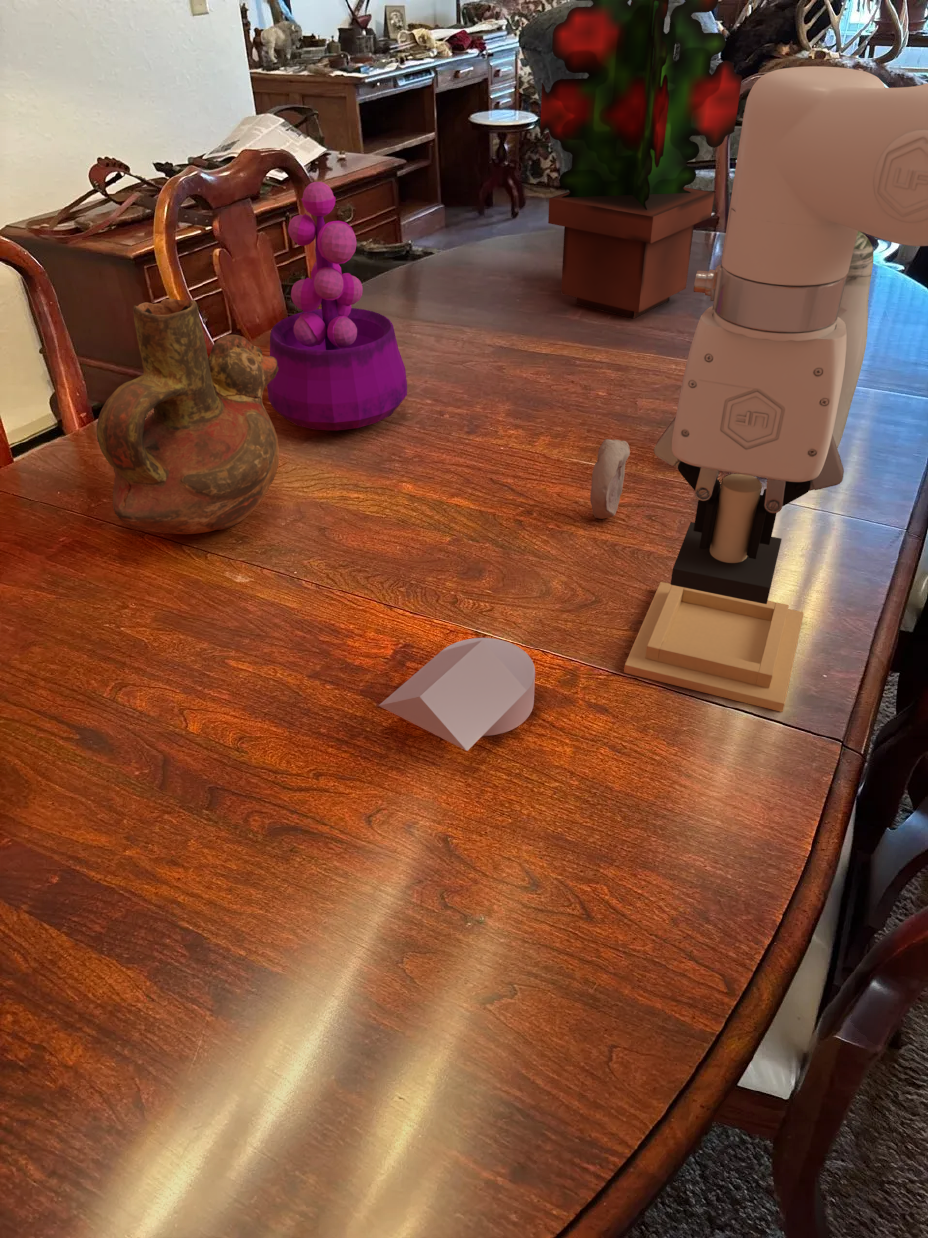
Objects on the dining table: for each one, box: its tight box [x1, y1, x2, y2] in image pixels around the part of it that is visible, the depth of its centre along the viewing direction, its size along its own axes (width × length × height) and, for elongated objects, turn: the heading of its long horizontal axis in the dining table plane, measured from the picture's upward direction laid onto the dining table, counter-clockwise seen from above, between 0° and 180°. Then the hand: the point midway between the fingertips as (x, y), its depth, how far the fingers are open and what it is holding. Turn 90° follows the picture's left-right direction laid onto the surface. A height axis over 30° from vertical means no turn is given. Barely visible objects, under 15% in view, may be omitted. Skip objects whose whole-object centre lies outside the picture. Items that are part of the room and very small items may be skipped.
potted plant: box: [539, 0, 743, 319], centre depth 149 cm, size 22×22×45 cm
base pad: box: [623, 581, 805, 713], centre depth 86 cm, size 14×14×2 cm
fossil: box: [589, 438, 631, 520], centre depth 102 cm, size 6×4×10 cm, turn 149°
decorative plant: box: [266, 181, 408, 431], centre depth 118 cm, size 19×18×30 cm
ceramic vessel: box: [96, 298, 280, 535], centre depth 99 cm, size 17×26×25 cm, turn 152°
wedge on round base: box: [378, 637, 536, 752], centre depth 78 cm, size 9×7×13 cm
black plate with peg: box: [670, 473, 782, 604], centre depth 68 cm, size 7×7×8 cm
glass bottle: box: [833, 231, 874, 449], centre depth 105 cm, size 10×10×28 cm
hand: (730, 542), depth 69 cm, fingers closed on black plate with peg, 2 cm apart
